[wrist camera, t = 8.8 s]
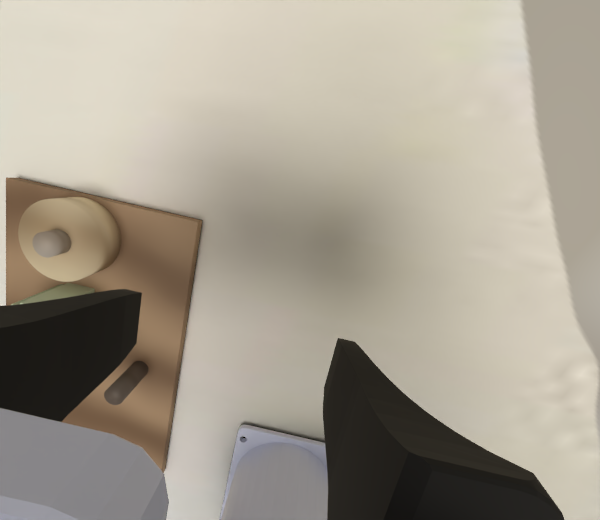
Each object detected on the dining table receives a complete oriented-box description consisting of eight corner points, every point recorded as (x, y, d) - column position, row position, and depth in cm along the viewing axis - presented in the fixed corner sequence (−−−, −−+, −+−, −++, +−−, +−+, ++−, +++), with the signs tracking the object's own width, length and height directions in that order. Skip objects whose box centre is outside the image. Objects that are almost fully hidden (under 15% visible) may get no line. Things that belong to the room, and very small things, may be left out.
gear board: (165, 469, 26) (126, 542, 21) (15, 435, 26) (-60, 498, 21) (202, 220, 21) (164, 234, 16) (17, 177, 21) (-81, 177, 16)
